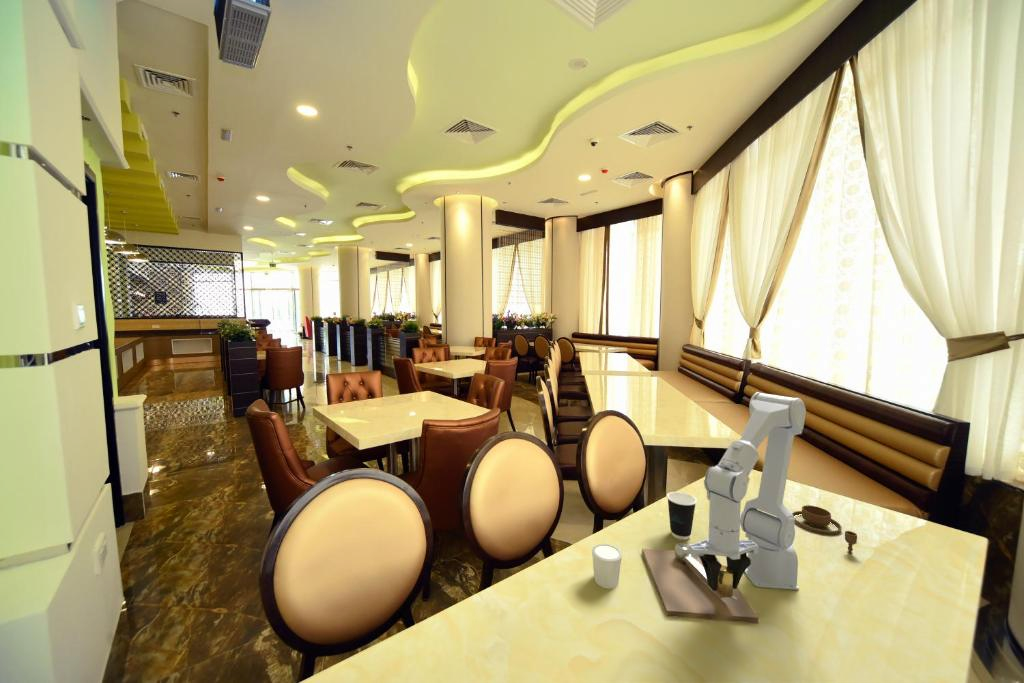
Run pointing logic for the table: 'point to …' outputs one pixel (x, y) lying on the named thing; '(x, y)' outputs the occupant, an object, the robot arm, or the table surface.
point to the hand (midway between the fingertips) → (722, 586)
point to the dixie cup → (681, 513)
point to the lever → (724, 575)
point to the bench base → (692, 591)
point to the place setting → (823, 523)
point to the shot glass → (606, 565)
